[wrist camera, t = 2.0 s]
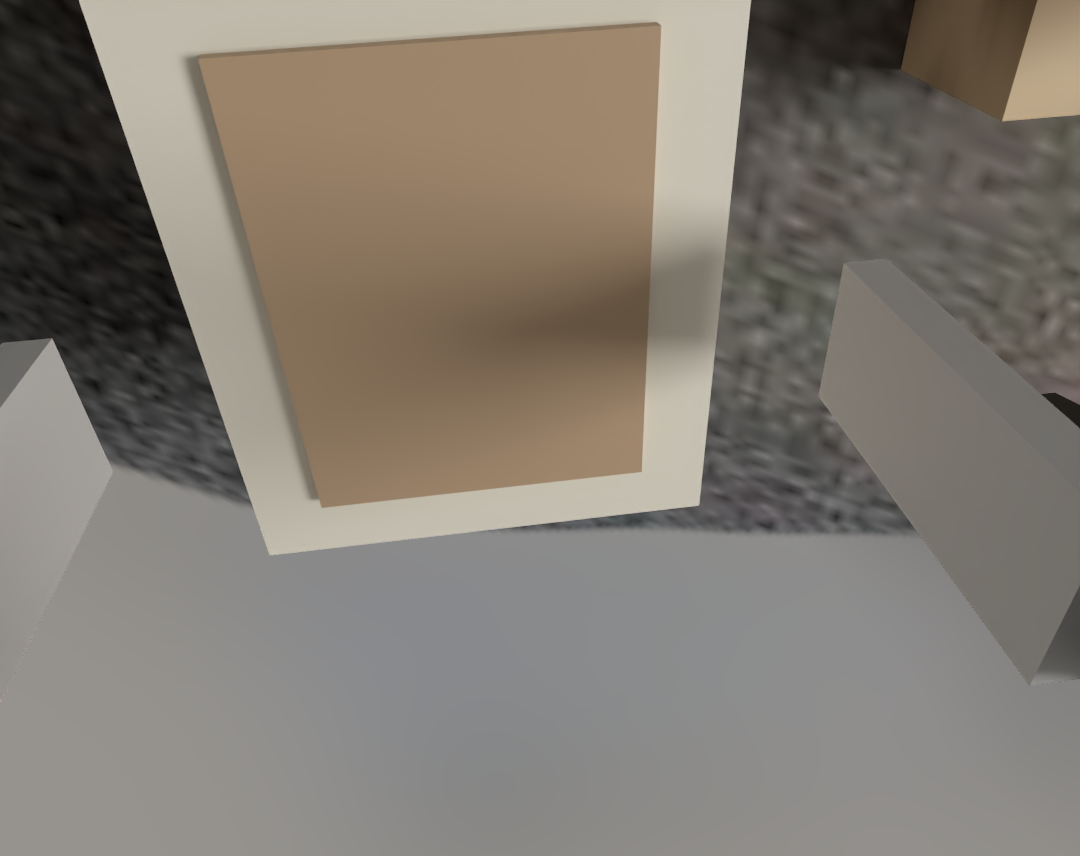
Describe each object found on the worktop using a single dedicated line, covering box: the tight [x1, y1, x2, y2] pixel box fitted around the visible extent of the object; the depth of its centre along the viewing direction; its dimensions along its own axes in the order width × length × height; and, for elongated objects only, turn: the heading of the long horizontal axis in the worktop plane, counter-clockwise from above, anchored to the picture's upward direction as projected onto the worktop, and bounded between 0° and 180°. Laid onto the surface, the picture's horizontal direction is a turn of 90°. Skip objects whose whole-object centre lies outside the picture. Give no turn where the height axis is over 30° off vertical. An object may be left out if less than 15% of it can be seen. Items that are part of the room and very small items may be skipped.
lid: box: [79, 0, 751, 555], centre depth 16 cm, size 12×10×3 cm
